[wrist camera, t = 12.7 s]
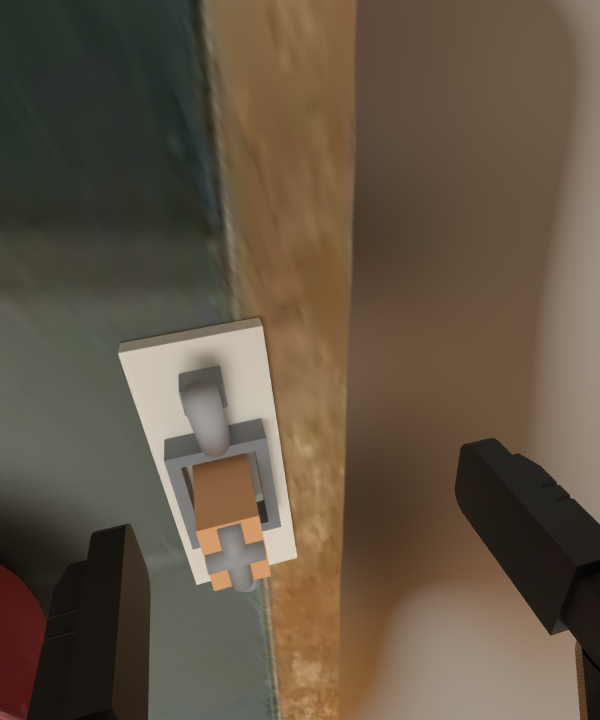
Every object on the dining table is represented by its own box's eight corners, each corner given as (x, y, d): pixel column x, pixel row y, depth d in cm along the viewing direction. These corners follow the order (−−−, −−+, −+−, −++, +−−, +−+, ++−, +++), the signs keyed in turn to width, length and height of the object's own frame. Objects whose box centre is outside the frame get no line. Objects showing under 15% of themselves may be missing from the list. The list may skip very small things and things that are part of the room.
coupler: (191, 451, 37) (196, 541, 30) (243, 440, 38) (261, 525, 30) (207, 508, 40) (215, 601, 33) (254, 496, 41) (273, 585, 34)
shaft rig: (196, 571, 46) (199, 644, 40) (119, 343, 33) (108, 400, 27) (293, 545, 48) (311, 611, 42) (259, 317, 34) (278, 365, 28)
